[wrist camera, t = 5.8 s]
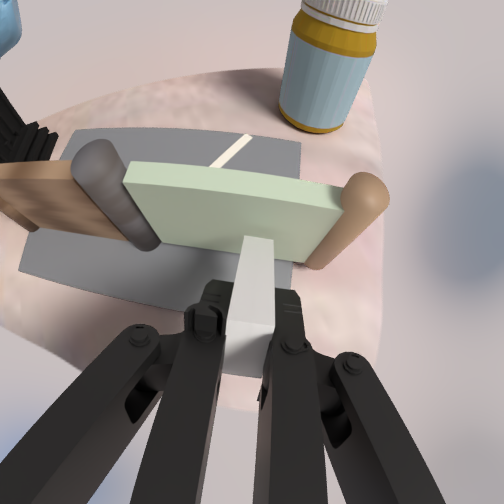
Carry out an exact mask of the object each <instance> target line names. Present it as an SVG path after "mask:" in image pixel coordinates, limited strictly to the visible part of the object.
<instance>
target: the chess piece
mask: <svg viewBox="0 0 504 504" xmlns="http://www.w3.org/2000/svg"><path fill="white" fill-rule="evenodd" d="M38 127H39V124H38V123H37V122H36V121H35V122H33V123H30V124H27V125H26V124H25V123H24V122H23V121H22V119H21V117H20V116H19V115H18V113H17V112H16V110H15V109H14V107H13V106H12V105H11V103H10V102H9V100H8V99H7V97H6V96H5V94H4V93H3V91H2V90H1V88H0V164H3V163H15V162H31V161H49V159H50V156H51V154H52V151H53V149H54V146H55V144H56V141H57V139H58V137H59V136H58V134H57V133H56V132H54V133H50V134H48V133H49V130H48V128H47V127H43V128H40V129H38Z"/></svg>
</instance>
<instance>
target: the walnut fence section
mask: <svg viewBox="0 0 504 504" xmlns="http://www.w3.org/2000/svg"><path fill="white" fill-rule="evenodd" d="M126 172H127V169H126V167H125V166H124V164H123V162H122V160H121V158H120V157H119V155H118V153H117V151H116V149H115V147H114V145H113V144H112V142H111V141H109V140H107V139H96V140H93V141H91V142H89V143H87V144H86V145H84V146H83V147H82V148H81V149H80V150H79V151H78V152H77V153H76V154H75V156H74V158H73V160H56V161H31V162H15V163H3V164H0V211H1V212H3V213H4V214H5V215H7V216H8V217H9V218H11V219H12V220H14V221H15V222H16V223H18V224H19V225H21V226H22V227H23V228H25V229H26V230H28V231H29V232H35V231H37V230H38V229H39V228H46V229H52V230H58V231H65V232H71V233H77V234H84V235H90V236H96V237H103V238H109V239H116V240H122V241H129V240H130V241H131V242H132V243H133V244H134V245H135V246H136V247H137V248H138V249H139V250H141V251H144V252H149V251H152V250H154V249H156V248H157V247H158V246H159V245H160V243H161V240H160V238H159V237H158V236H157V234H156V233H155V231H154V230H153V228H152V227H151V225H150V224H149V222H148V221H147V219H146V218H145V216H144V215H143V213H142V212H141V210H140V209H139V207H138V206H137V204H136V203H135V201H134V200H133V198H132V196H131V195H130V193H129V192H128V190H127V189H126V187H125V185H124V184H123V179H124V177H125V174H126Z"/></svg>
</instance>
